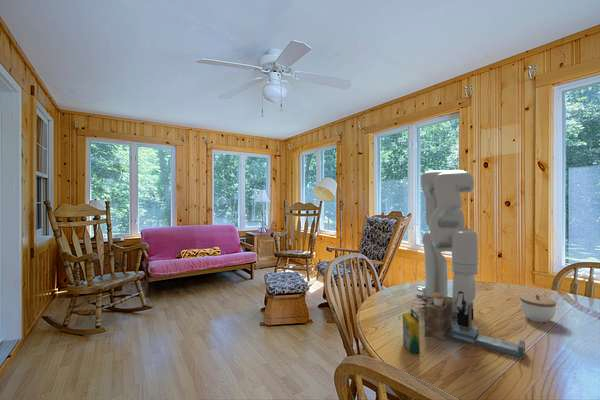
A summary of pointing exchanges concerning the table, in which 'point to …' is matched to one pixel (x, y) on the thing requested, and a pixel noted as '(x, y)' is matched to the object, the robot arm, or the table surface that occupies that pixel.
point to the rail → (493, 344)
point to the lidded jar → (538, 307)
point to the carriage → (466, 328)
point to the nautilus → (454, 305)
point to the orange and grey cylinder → (438, 299)
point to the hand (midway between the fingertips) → (465, 321)
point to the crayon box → (411, 332)
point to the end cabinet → (437, 319)
